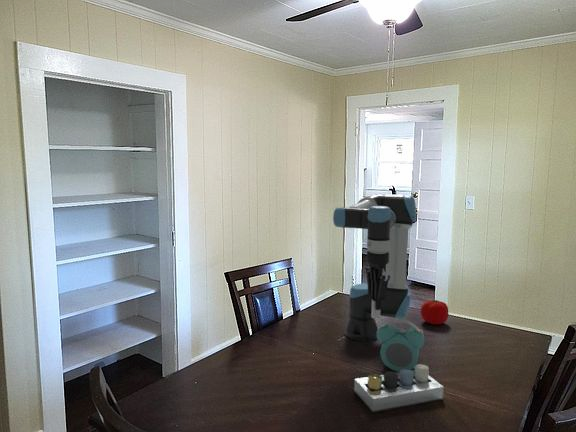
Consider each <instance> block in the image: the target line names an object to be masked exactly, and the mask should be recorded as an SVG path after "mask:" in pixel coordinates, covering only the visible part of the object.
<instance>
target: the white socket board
mask: <svg viewBox="0 0 576 432" xmlns="http://www.w3.org/2000/svg"><path fill="white" fill-rule="evenodd" d="M411 371H412V372H413V385H409V386H403V385H402V384H401V383H400V372H398V371H395V373H396V374H397V375H398V382H397V388H391V389H387V388H386V387H385V386H384V374H379V375H380V376H381V377H382V384H381V390H379V391H373V392H371V391H370V390H369V389H368V376H365V377H360V378H359V377H357V378H355V379H354V389H353V391H354V393H355V395H357V396H358V398H360V400H361V401H362V402H363V403H364V404H365V405H366V407H367V408H368V409H369V410H370V411H371V412H372V413H378V412H383V411H389V410H393V409H394V410H395V409H398V408H405V407H410V406H416V405H421V404H427V403H431V402H436V401H443V400H444V389H445V388H444V385H442V384H440V383H439V382H438V381H437V380H436V379H434V378H433V377H432V376H431V375H429V376H428V382H427V383H421V384H419V383H418V382H417V381H416V380H415V369H411Z"/></svg>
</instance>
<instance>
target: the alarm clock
mask: <svg viewBox="0 0 576 432" xmlns="http://www.w3.org/2000/svg"><path fill="white" fill-rule="evenodd" d="M392 323H402V324H407V325H408V326H411V327H410V328H407V329H405V328H401V327H400V328H397V327H396V328H395V327H394V326H393V325H390V324H392ZM377 328H378V330H377V340H378V342H380V343H381V347H380V352H379V353H380V359H381V361H382V362H383V363H384V365H385V366H386V367H388V368H389V369H390V370H392V371H395V372H400V370H402V369H408V370H413V369H415V366H416V365H418V360H419V352H420V348H422V347H423V346H424V344H425V335H424V330H423V329H421V328H419V327H418V326H417V325H416V324H415V323H413V322H412V321H410V320H408V319H405V318H394V317H393V318H391V319H389V320H387V321H386V322H384V323H382V324H381V323H380V324H379V325H377Z"/></svg>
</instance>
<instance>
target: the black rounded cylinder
mask: <svg viewBox="0 0 576 432" xmlns="http://www.w3.org/2000/svg"><path fill="white" fill-rule="evenodd" d="M383 375H384V386H385V387H386V388H387V389H391V388H397V382H398V375H397V374H396V372H394V371H385V372H383Z"/></svg>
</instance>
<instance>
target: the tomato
mask: <svg viewBox="0 0 576 432" xmlns="http://www.w3.org/2000/svg"><path fill="white" fill-rule="evenodd" d="M420 315H421V317H422V319H423V321H425V323H429V324H431V325H437V326H438V325H441V324H444V323H446V322H447V321H448V318H449V307H448V305H447V303H445V302H444V301H440V300H436V299H434V300H433V299H431V300H427V301H425V302H424V303H423V304H422V305H421V306H420Z"/></svg>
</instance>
